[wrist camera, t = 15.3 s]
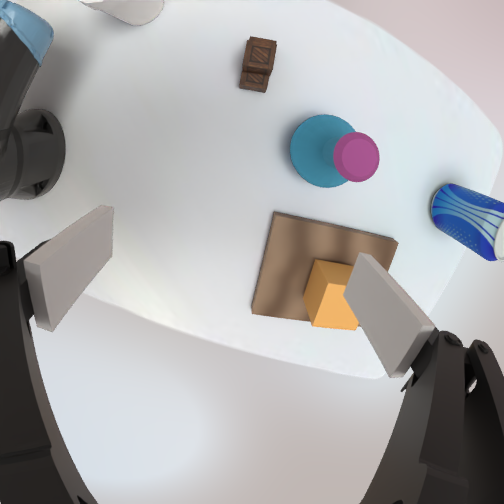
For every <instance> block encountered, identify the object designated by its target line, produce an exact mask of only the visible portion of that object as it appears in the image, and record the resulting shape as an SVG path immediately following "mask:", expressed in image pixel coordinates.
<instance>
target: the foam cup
mask: <svg viewBox="0 0 504 504" xmlns="http://www.w3.org/2000/svg"><path fill="white" fill-rule="evenodd" d="M78 1H80V2H81V3H83V4H84V5H86V6H88V7H90V8H92V9H94V10H100V11H103V12H105V13H107V14H109V15H112V16H114V17H116V18H118V19H120V20H122V21H124V22H126V23H128V24H130V25H140V26H141V25H144V24H146V23H149V22H151V21H152V20H154V19H155V18H156V17H158V15H159V14H160V13H161V11H162V10H163V5H164V2H163V0H78Z"/></svg>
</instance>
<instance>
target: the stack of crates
mask: <svg viewBox="0 0 504 504" xmlns="http://www.w3.org/2000/svg"><path fill="white" fill-rule="evenodd" d="M276 42H277V41H273V40H268V39H263V38H257V37H251V36H250V39H249V40H247V44H246V49H245V55H244V60H243V70H242V75H241V79H240V84H239V86H240V89H246V90H252V91H258V92H263V93H265V92H266V90H267V85H268V81H269V76H270V75H271V72H272V70H273V65H274V59H275V53H276V47H277V44H276Z"/></svg>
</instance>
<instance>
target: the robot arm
mask: <svg viewBox="0 0 504 504" xmlns="http://www.w3.org/2000/svg"><path fill="white" fill-rule="evenodd" d="M53 37H54V32H53V29H52V27H51V25H50V24H49V23H47V22H46V21H45V20H44V19H42V18H41V17H39V16H38V15H36V14H35V13H33V12H32V11H30V10H28V9H26V8H24V7H23V6H21V5H18V4H16V3H12V2H10V1H8V0H0V201H1V200H3V199H6V198H14V199H24V200H29V199H34V198H37V197H39V196H42V195H44V194H45V193H47V192H48V191H49V190H50V189H51V188H52V187H53V186H54V185H55V183H56V182H57V180H58V178H59V176H60V173H61V171H62V167H63V163H64V157H65V140H64V134H63V131H62V128H61V125H60V123H59V122H58V120H57V119H56V117H55V116H54V115H53V114H52V113H50V112H49V111H46V110H43V109H29V110H25V111H23V112H21V113H19V114H18V111H19V109H20V106H21V104H22V102H23V99H24V97H25V95H26V93H27V90H28V88H29V86H30V84H31V82H32V80H33V78H34V76H35V74H36V72H37V70H38V68H39V67H41V65H42V60H43V58H44V56H45V54H46V52H47V50H48V48H49V46H50V44H51V42H52V40H53ZM113 212H114V207H109V206H103V205H100V206H99V207H97V208H96V209H94V210H93V211H91V212H90V213H88V214H87V215H85V216H84V217H82V218H81V219H79V220H78V221H76V222H75V223H73V224H72V225H70V226H69V227H67V228H66V229H65V230H63V231H62V232H60V233H59V234H58V235H56V236H55V237H53V238H52V239H50V240H47V241H44V242H42V243H40V244H39V245H38V246H36V247H35V249H32V250H31V251H30V252H29V253H27V254H26V255H25V256H23V257H22V258H21V259H19V260H18V261H17V262H16V257H15V250H14V245H13V243H11V242H9V241H0V502H1V504H98V503H97V501H96V500H95V499H94V497H93V496H92V494H91V493H90V492H89V490H88V489H87V487H86V485H85V483H84V482H83V480H82V478H81V476H80V474H79V472H78V470H77V469H76V466H75V464H74V462H73V460H72V458H71V456H70V454H69V452H68V449H67V447H66V445H65V443H64V440H63V438H62V435H61V433H60V431H59V428H58V425H57V423H56V420H55V417H54V415H53V412H52V409H51V406H50V403H49V400H48V397H47V393H46V390H45V387H44V384H43V380H42V377H41V373H40V369H39V365H38V361H37V357H36V352H35V347H34V342H33V337H32V332H31V327H30V323H29V319H30V318H31V317H32V316H33V315H34V317H35V320H36V324H37V327H39V328H42V329H45V330H47V331H50V332H53V331H54V330H55V328H56V327H57V325H58V324H59V323H60V321H61V320H62V318H63V317H64V316H65V314H66V313H67V312H68V310H69V309H70V308H71V306H72V305H73V304H74V302H75V301H76V300H77V298H78V297H79V296H80V295H81V293H82V292H83V291H84V290H85V288H86V287H87V286H88V285H89V283H90V282H91V281H92V280H93V278H94V277H95V276H96V275H97V274H98V272H99V271H100V270H101V269H102V268H103V266H104V265H105V264H106V263H107V262H108V260H109V259H110V258H111V257H112V236H113ZM343 296H344V298H345V300H346V301H347V303H348V305H349V306H350V308H351V310H352V311H353V313H354V315H355V317H356V318H357V320H358V322H359V323H360V325H361V327H362V329H363V330H364V332H365V334H366V336H367V337H368V339H369V341H370V343H371V345H372V346H373V348H374V350H375V352H376V354H377V355H378V357H379V359H380V361H381V363H382V365H383V366H384V368H385V370H386V372H387V374H388V376H389V377H390V378H399V377H403V376H404V375H405V373H406V372H407V371H408V369H409V368H410V366H411V368H412V370H413V371H414V373H413V374H412V376H411V377H410V378H409V380H408V381H407V382H406V384H405V385H404V387H403V388H402V389H401V392H403V391H404V389H406V392H405V396H404V399H403V403H402V406H401V409H400V412H399V415H398V418H397V421H396V424H395V427H394V429H393V433H392V435H391V438H390V440H389V443H388V445H387V448H386V451H385V453H384V455H383V458H382V460H381V462H380V465H379V467H378V469H377V471H376V474H375V476H374V478H373V480H372V482H371V484H370V486H369V488H368V490H367V492H366V494H365V496H364V498H363V500H362V501H361V503H360V504H504V376H503V374H502V371H501V369H500V367H499V365H498V362H497V360H496V358H495V356H494V353H493V351H492V350H491V348H490V347H489V346H488V344H487V343H485V342H484V341H483V342H482V341H480V340H474V341H473V343H472V344H471V346H470V347H469V348H465V347H463V344H462V342H461V341H460V339H459V338H458V337H457V336H456V335H454V334H452V333H450V332H448V331H440V332H439V330H438V329H437V328H436V327H435V325H434V324H433V322H432V321H431V320H430V319H429V318H428V316H427V315H426V314H425V313H424V312H423V311H422V310H421V308H420V307H419V306H418V305H417V304H416V303H415V302H414V300H413V299H412V298H411V297H410V296H409V295H408V294H407V293H406V292H405V290H404V289H403V288H402V287H401V286H400V285H399V284H398V283H397V282H396V281H395V280H394V278H393V277H392V276H391V275H390V274H389V273H388V272H387V271H386V270H385V269H384V268H383V267H382V266H381V265H380V264H379V263H378V262H377V261H376V260H375V259H374V258H373V257H372V255H370V254H365V253H360V252H359V255H358V257H357V260H356V263H355V265H354V268H353V271H352V273H351V276H350V278H349V281H348V283H347V286H346V288H345V291H344V293H343ZM476 379H477V382H476V386H475V388H474V389H473V390H472V392H469V388H470V387H471V385H472V384H473V383H474V382H475V380H476Z"/></svg>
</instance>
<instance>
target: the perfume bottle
mask: <svg viewBox="0 0 504 504" xmlns="http://www.w3.org/2000/svg"><path fill="white" fill-rule="evenodd" d="M290 155H291V160H292V162H293V165H294V167H295V169H296V170H297V172H298V173H299V174H300V175H301V177H302V178H303V179H305V180H306V181H307V182H309V183H311V184H313V185H315V186H319V187H325V188H330V187H336V186H339V185H342V184H343V183H345V182H347V181H348V180H349V181H352V182H362V181H365V180H367V179H369V178H370V177H371V176H372V175H373V174H374V173H375V172H376V170H377V168H378V165H379V151H378V148H377V146H376V144H375V142H374V141H373V140H372V139H371V138H370V137H369V136H367V135H366V134H363V133H359V132H356V131H355V130H354V129H353V128H352V126H351V125H349V124H348V123H347V122H346V121H344V120H343V119H341V118H339V117H336V116H333V115H317V116H314V117H311V118H309V119H307V120H306V121H304V122H303V123H302V124H301V125H300V126H299V127H298V128H297V130H296V131H295V133H294V135H293V137H292V140H291V144H290Z"/></svg>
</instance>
